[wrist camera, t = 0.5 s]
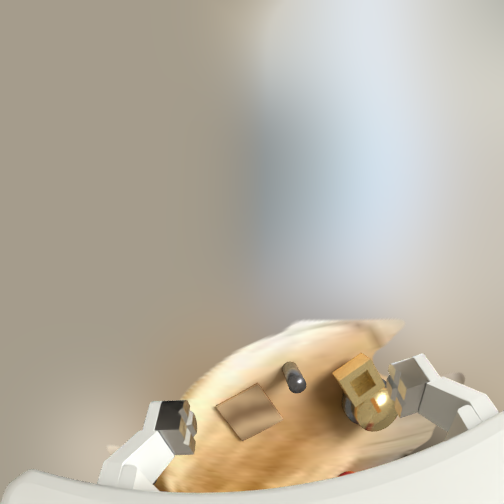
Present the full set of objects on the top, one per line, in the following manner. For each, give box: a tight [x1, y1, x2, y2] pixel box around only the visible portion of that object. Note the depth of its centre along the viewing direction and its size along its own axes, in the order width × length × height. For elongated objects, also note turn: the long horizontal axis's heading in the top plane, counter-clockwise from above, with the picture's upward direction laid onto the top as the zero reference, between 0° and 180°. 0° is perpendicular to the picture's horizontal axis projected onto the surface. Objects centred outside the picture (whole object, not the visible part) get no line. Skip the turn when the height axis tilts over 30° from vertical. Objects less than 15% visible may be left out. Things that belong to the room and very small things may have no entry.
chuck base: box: [342, 378, 387, 425], centre depth 58 cm, size 11×11×3 cm
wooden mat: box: [216, 383, 283, 441], centre depth 58 cm, size 10×10×1 cm
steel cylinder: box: [283, 362, 306, 393], centre depth 54 cm, size 3×3×10 cm
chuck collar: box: [332, 353, 398, 432], centre depth 53 cm, size 16×9×5 cm, turn 32°
